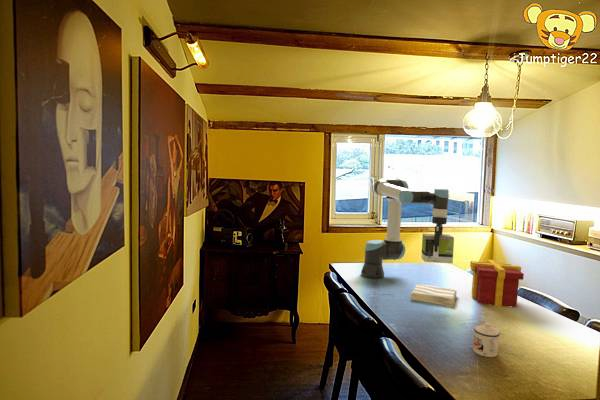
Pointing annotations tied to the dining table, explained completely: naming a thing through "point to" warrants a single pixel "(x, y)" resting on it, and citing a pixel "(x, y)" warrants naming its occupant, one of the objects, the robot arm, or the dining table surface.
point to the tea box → (444, 248)
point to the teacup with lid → (486, 340)
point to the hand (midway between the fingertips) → (436, 255)
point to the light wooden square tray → (434, 295)
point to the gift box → (495, 283)
